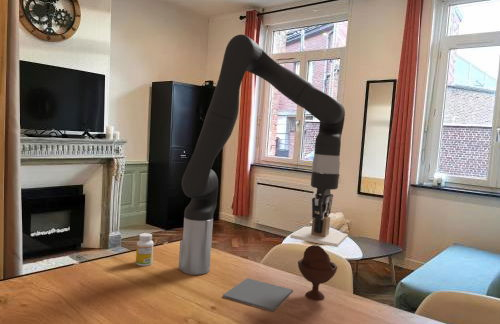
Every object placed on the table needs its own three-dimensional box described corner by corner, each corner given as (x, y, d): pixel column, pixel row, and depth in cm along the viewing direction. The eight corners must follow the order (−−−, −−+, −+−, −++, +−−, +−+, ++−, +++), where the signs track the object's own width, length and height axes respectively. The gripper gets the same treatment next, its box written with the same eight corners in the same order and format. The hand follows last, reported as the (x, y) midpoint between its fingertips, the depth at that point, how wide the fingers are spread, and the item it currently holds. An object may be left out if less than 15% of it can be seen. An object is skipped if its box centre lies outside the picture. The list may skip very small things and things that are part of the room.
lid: (290, 237, 102) (292, 217, 102) (304, 228, 114) (306, 210, 113) (337, 247, 96) (339, 225, 96) (347, 236, 108) (349, 217, 108)
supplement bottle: (140, 259, 126) (142, 231, 126) (155, 261, 125) (157, 233, 125) (132, 264, 121) (134, 235, 120) (148, 267, 120) (149, 237, 119)
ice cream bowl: (335, 307, 100) (339, 253, 99) (293, 301, 102) (297, 247, 101) (334, 292, 110) (338, 242, 109) (296, 286, 112) (300, 238, 111)
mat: (222, 297, 101) (222, 294, 101) (247, 279, 115) (247, 278, 115) (273, 311, 95) (273, 309, 95) (292, 291, 108) (292, 289, 108)
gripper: (319, 168, 112) (314, 224, 113) (304, 170, 99) (299, 234, 100) (344, 171, 108) (339, 228, 110) (332, 173, 96) (326, 239, 97)
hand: (320, 231), depth 105 cm, fingers closed on lid, 4 cm apart
